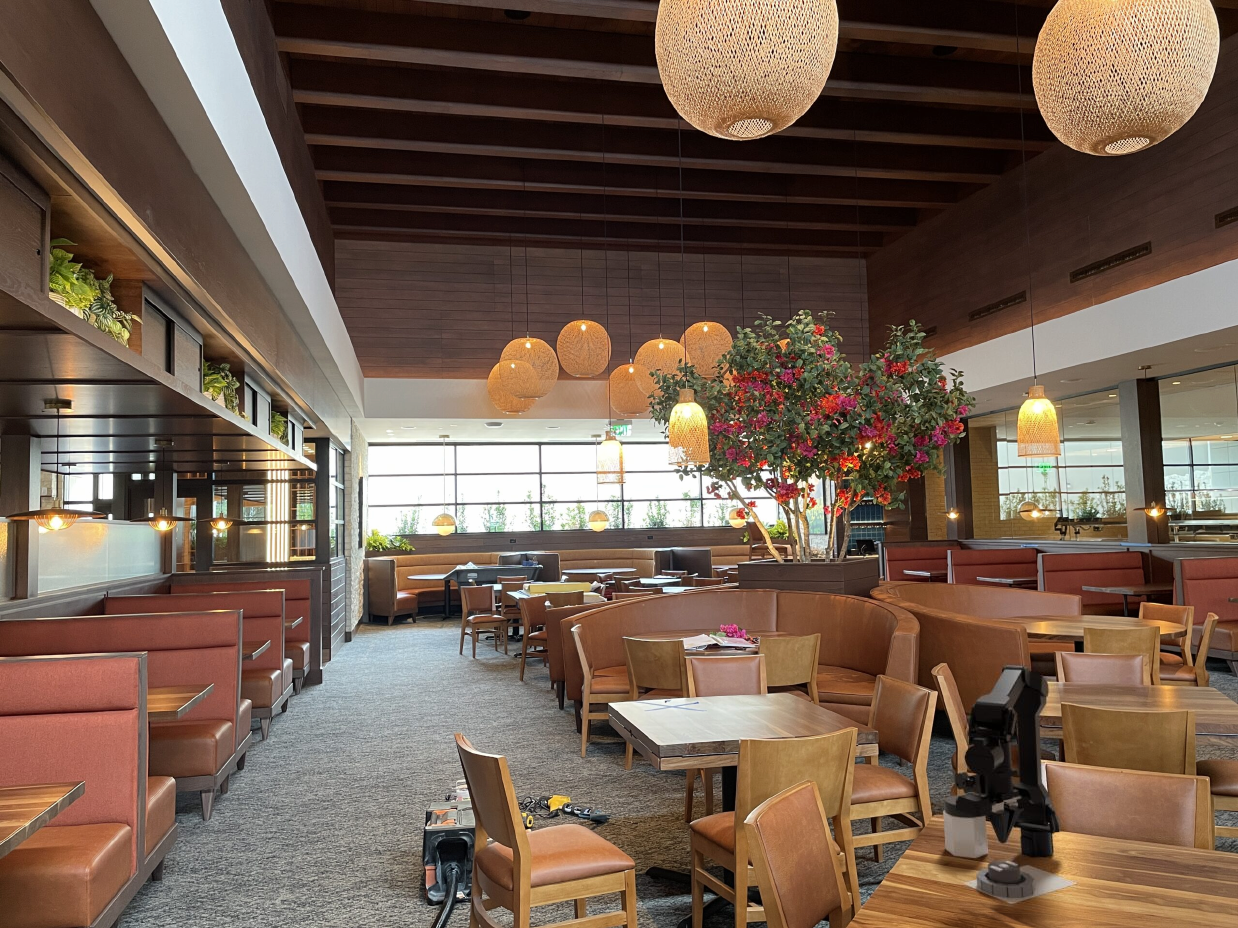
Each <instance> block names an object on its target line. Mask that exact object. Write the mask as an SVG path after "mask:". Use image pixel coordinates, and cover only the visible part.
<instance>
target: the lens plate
mask: <svg viewBox="0 0 1238 928" xmlns="http://www.w3.org/2000/svg"><path fill="white" fill-rule="evenodd" d="M1019 867H1020V873H1021V883H1020V884H1001V883H995V882H993V881H990V880H989V874H988V867H987V868H983V869H980V870H978V872H977V873H976V874H975V875H976V879H973V880H970V881H967V882H963V883H962V884H963V885H965V886H967V887H970V888H973V889H974V890H977V891H979V892H981V893H983V894H986V895H989V896H991V897H993V898H996V899H998V900H1000V901H1003V902H1005V903H1008V904H1009V905H1012V904H1016V903H1019V902H1022V901H1026V900H1029V899H1033V898H1035V897H1038V896H1042V895H1045V894H1048V893H1052V892H1054V891H1059V890H1061V889H1065V888H1068V887H1071V886H1074V885H1078V884H1079V883H1078V882H1075V881H1072V880H1069V879H1067V878H1064V877H1062V876H1059V875H1056V874H1053V873H1052V872H1051V873H1050V872H1048V871H1045V870H1042V869H1040V868H1037V867H1035V866H1031V865H1029V864H1027V865H1023V866H1019Z"/></svg>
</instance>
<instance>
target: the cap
mask: <svg viewBox="0 0 1238 928" xmlns="http://www.w3.org/2000/svg"><path fill="white" fill-rule="evenodd" d="M1020 867H1021V866H1019V864H1018V863H1016V862H1013V861H1010V860H1006V861H1003V860H996V861H991V862H989V863H988V864H987V868H988V874H989V880H990V881H993V882H995V883H1001V884H1020V883H1021V873H1020Z"/></svg>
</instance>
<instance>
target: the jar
mask: <svg viewBox="0 0 1238 928" xmlns="http://www.w3.org/2000/svg"><path fill="white" fill-rule="evenodd" d="M958 796H959V795H951V796H948V797H946V798H944V799H943V800H944V801H943V802H944V804H943V805H944V810H943V811H942V814H943V829H944V841H945V842H944V843H945V850H946V851H948V852H949V853H950V854H951V855H953V856H954V857H963V858H973V859H977V858H980V857H982V856H985V855H987V854H989V847H988V833H987V821H986V820H987V819H986V816H982V817H976V816H973V815H970V814H967V813H964V812H961V811H958V810H956V798H957V797H958Z"/></svg>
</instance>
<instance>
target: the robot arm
mask: <svg viewBox="0 0 1238 928" xmlns="http://www.w3.org/2000/svg"><path fill="white" fill-rule="evenodd" d="M1049 690H1050V689H1049V683H1048V681H1047V679H1046V678H1045V677H1044V676H1043V675H1042V674H1039V673H1037V672H1035V671H1032V670H1030V669H1029V667H1027V666H1026V667H1025V665H1012V664H1011V665H1009V664H1007V665H1005V666H1003V667H1002V669H1001V675H1000V677H999V678H998V680H997V682H995V685H994V687H993V688H992V689H991V692H990V693H989V694H985V695H981V696H980V697H979V698H978V699H977V700H975V702H974V704H973V705H972V707H971V711H970V718H969V724H968V730H967V736H968V737H970V738H973V744H972V745H970V746H969V747H968V748H967V749H966V751H965V753H964V761H965V765H966V766H967V768H968V770H970V771H971V772H972V773H974V774H972V775H969V774H968V772H967V771H962V772H958V773H955V775H954V782H955V787H956V788H957V789H958V790H959V791H960V790H962V792H963V794H962V795H957V796H958V797H957V798H956V810H958V811H961V812H964V813H967V814H970V815H973V816H976V817H982V816H985V817H986V816H987V818H988V820H989V822H990V824H991V826H992V829H993V831H994V833H995V835H996V838H997V840H998V842H999V843H1000V844H1007V841H1008V839H1009V836H1010V835H1011V832H1012V830H1013V828H1015V829H1016V828H1018V829H1019V830H1020V836H1019V838H1020V852H1021V855H1023V856H1025V857H1028V858H1030V859H1031V858H1049V857H1051V856H1053V853H1054V839H1053V835H1055V834H1056V833H1060V832H1061V828H1060V826H1061V825H1060V820H1059V819H1060V818H1059V816H1058V813H1057V812H1056V809H1055V807H1054V805H1053V804H1052V798H1051V794H1050V793H1049V791H1048V789H1047V788H1046V787H1045V785H1044V784H1043V779H1042V778H1043V774H1042V770H1043V769H1042V752H1041V750H1042V749H1041V728H1040V727H1041V725H1040V715H1041V713H1042V711H1043V710H1044V708H1045V707H1046V705H1047V698H1048V696H1049V693H1050V692H1049ZM1016 723H1017V726H1016ZM1015 726H1016V727H1017V728H1016V727H1015ZM1015 728H1016V729H1017V747H1018V749H1017V752H1018V769H1014V768H1013V762H1012V751H1011V748H1012V747H1011V741H1010V739H1011V736H1013V737H1014V732H1015ZM1018 774H1019V775H1018ZM1015 776H1018V777H1019V781H1018V782H1015V783H1014V777H1015ZM968 792H969V793H968ZM970 792H975V793H976V794H975V793H970ZM977 794H978V795H977ZM980 795H984V796H980Z"/></svg>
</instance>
